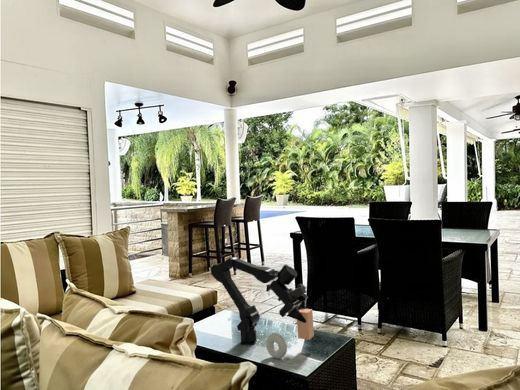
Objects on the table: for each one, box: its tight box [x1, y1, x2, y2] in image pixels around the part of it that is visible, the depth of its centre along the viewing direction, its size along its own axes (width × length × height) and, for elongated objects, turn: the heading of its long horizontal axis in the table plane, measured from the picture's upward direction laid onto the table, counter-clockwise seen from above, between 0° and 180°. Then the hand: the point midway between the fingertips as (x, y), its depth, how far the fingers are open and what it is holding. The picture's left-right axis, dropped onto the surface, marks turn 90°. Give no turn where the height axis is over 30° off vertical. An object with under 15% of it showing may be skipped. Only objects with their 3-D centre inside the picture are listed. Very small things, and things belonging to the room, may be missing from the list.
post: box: [296, 308, 315, 341], centre depth 167 cm, size 5×5×11 cm
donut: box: [265, 332, 288, 360], centre depth 161 cm, size 10×4×10 cm, turn 49°
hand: (308, 320), depth 167 cm, fingers closed on post, 5 cm apart
